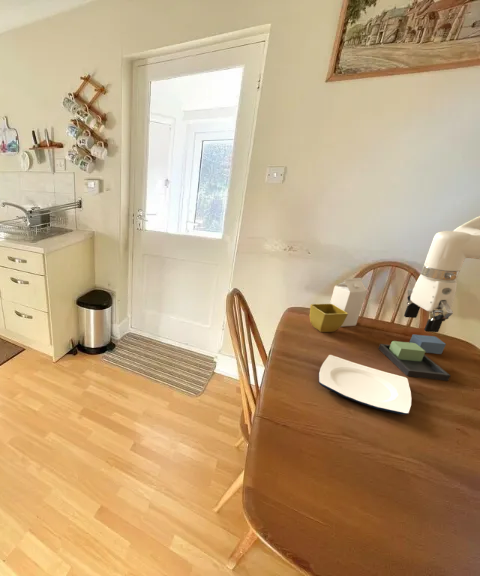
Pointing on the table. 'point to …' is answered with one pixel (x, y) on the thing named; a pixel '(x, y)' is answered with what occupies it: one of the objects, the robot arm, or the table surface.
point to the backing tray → (416, 366)
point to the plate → (366, 385)
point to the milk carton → (349, 299)
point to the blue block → (428, 343)
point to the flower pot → (326, 317)
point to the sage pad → (407, 351)
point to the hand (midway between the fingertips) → (419, 324)
